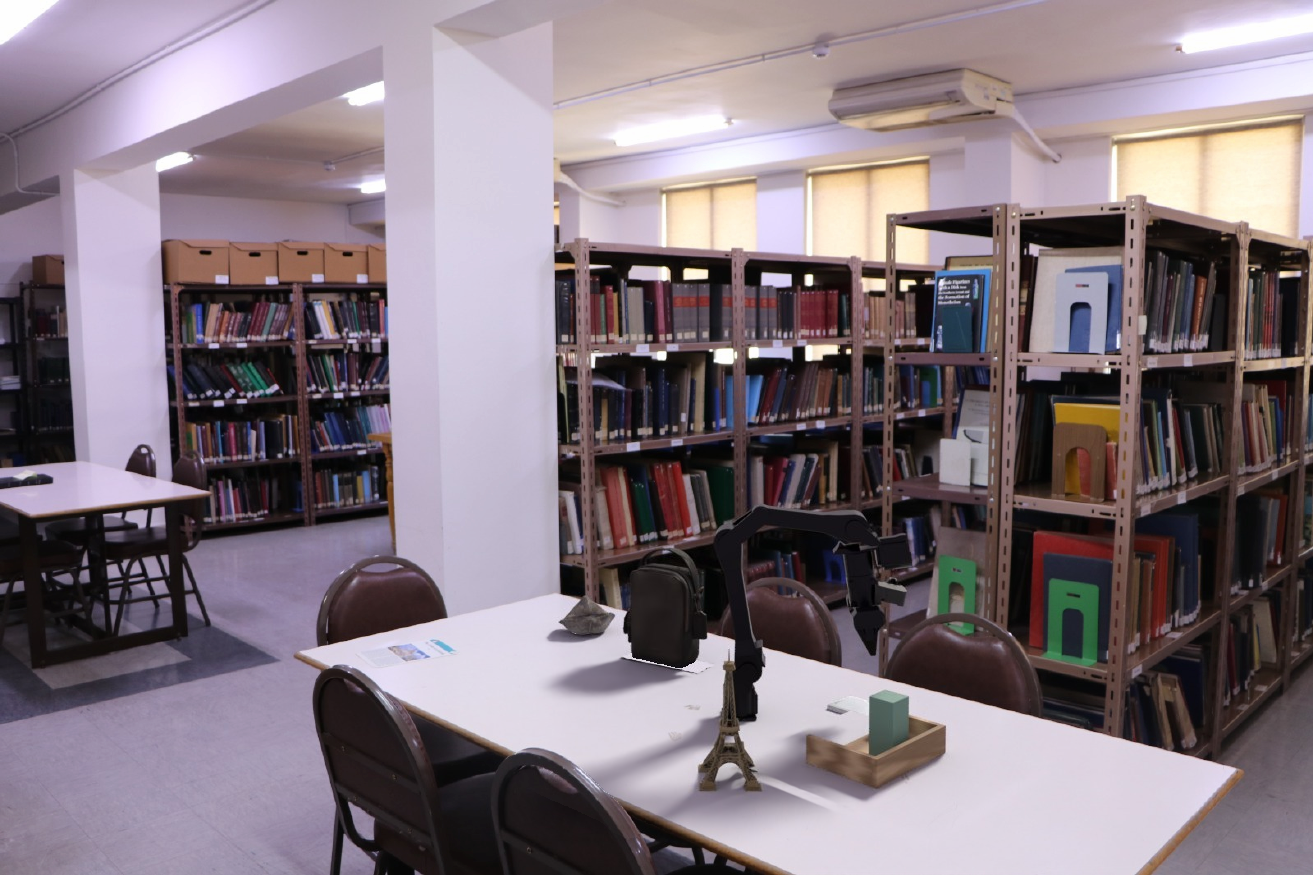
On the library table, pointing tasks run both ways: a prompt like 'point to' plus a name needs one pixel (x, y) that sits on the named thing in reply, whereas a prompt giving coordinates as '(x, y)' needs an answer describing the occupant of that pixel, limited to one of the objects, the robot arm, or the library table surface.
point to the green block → (887, 721)
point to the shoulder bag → (665, 612)
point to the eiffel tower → (728, 750)
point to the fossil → (587, 617)
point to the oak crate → (886, 766)
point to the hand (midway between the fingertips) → (871, 648)
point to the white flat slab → (850, 705)
